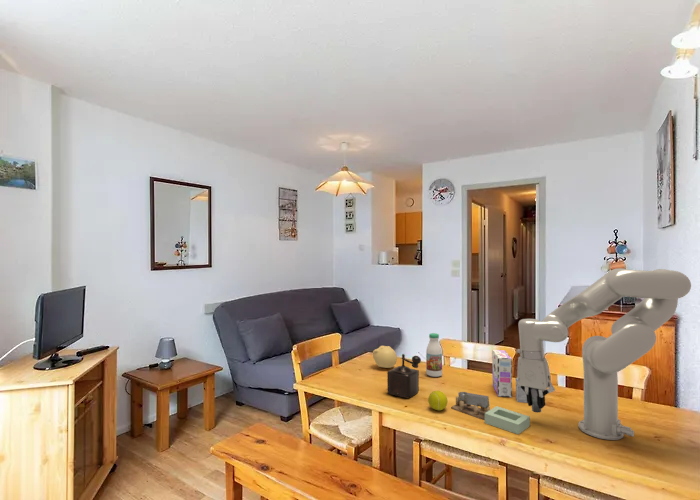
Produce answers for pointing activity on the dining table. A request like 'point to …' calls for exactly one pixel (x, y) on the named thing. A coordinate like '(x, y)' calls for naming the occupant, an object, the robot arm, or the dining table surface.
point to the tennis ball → (437, 400)
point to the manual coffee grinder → (404, 379)
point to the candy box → (502, 373)
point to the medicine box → (520, 394)
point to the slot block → (507, 420)
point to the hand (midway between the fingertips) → (536, 405)
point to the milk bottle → (434, 356)
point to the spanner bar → (474, 399)
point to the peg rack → (470, 409)
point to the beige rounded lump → (385, 356)
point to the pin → (535, 400)
